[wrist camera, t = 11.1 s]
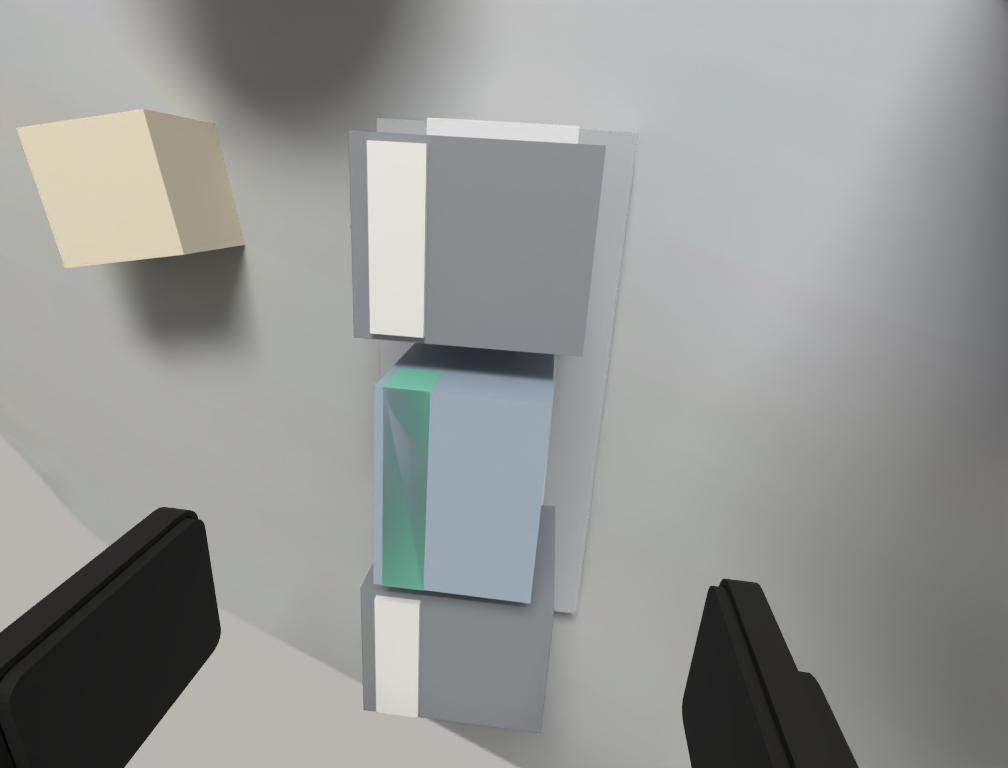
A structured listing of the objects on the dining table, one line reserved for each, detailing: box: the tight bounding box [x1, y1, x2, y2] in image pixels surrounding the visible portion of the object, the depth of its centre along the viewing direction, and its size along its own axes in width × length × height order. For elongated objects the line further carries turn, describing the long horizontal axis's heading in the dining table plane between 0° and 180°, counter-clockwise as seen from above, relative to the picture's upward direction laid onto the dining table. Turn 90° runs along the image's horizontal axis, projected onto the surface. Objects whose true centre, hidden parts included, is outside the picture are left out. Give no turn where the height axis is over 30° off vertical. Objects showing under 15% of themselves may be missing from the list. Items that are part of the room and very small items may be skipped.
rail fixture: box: [348, 117, 638, 733], centre depth 20 cm, size 20×9×8 cm, turn 176°
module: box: [374, 343, 554, 603], centre depth 18 cm, size 6×4×7 cm
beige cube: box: [17, 109, 245, 268], centre depth 20 cm, size 4×4×4 cm
